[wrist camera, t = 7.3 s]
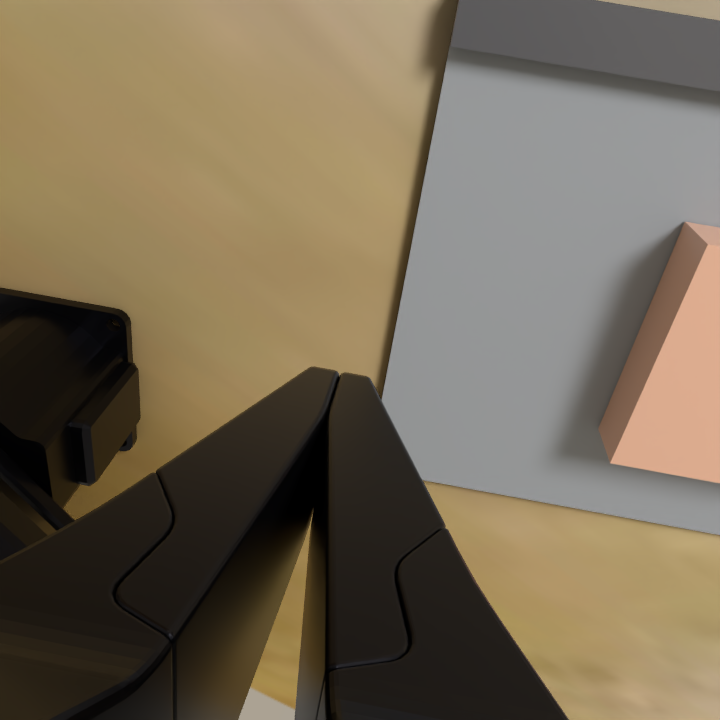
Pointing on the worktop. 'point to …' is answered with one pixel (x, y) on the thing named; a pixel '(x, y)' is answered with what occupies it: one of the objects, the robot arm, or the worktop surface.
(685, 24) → the turner
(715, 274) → the tile
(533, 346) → the mat
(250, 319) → the worktop surface
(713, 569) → the worktop surface
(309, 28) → the worktop surface
